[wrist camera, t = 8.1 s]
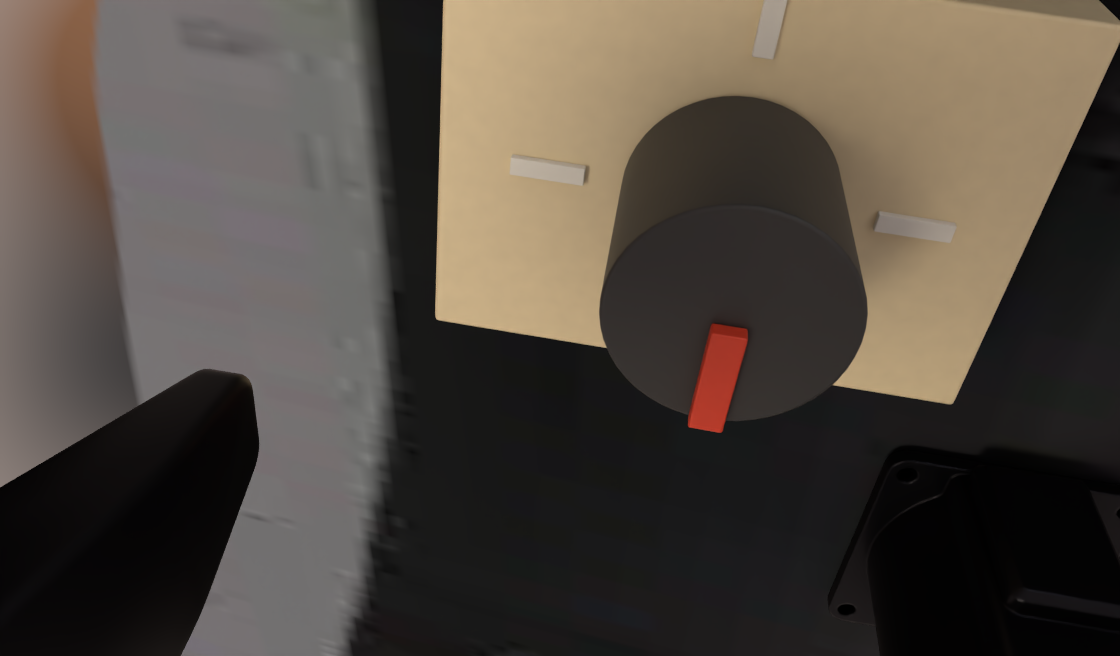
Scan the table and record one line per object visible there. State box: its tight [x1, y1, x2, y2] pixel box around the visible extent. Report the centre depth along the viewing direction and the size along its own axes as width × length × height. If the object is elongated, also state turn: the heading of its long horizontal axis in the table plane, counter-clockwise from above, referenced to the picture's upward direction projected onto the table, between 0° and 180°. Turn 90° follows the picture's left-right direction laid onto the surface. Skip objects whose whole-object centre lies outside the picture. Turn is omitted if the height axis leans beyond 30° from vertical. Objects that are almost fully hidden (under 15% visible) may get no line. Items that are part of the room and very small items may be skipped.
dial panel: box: [435, 0, 1120, 404], centre depth 19 cm, size 11×8×3 cm
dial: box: [599, 96, 868, 433], centre depth 16 cm, size 4×4×4 cm
